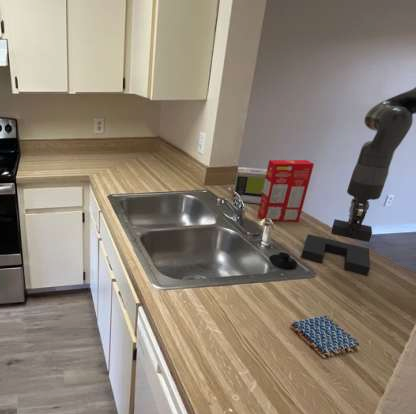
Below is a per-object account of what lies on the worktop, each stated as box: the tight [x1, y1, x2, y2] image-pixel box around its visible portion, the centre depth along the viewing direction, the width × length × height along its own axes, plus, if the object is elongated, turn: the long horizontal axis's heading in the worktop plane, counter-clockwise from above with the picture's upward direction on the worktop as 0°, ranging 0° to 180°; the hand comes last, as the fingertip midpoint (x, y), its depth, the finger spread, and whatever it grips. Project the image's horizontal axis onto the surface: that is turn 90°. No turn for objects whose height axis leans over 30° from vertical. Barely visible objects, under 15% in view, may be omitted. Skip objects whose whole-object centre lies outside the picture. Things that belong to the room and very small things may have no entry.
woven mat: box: [289, 315, 360, 359], centre depth 79 cm, size 10×11×2 cm
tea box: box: [233, 166, 267, 205], centre depth 157 cm, size 15×10×15 cm
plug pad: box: [331, 218, 373, 243], centre depth 98 cm, size 5×9×3 cm, turn 55°
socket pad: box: [300, 233, 371, 276], centre depth 112 cm, size 18×14×3 cm
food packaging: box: [257, 159, 315, 223], centre depth 135 cm, size 15×5×25 cm, turn 88°
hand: (350, 233), depth 99 cm, fingers closed on plug pad, 5 cm apart
